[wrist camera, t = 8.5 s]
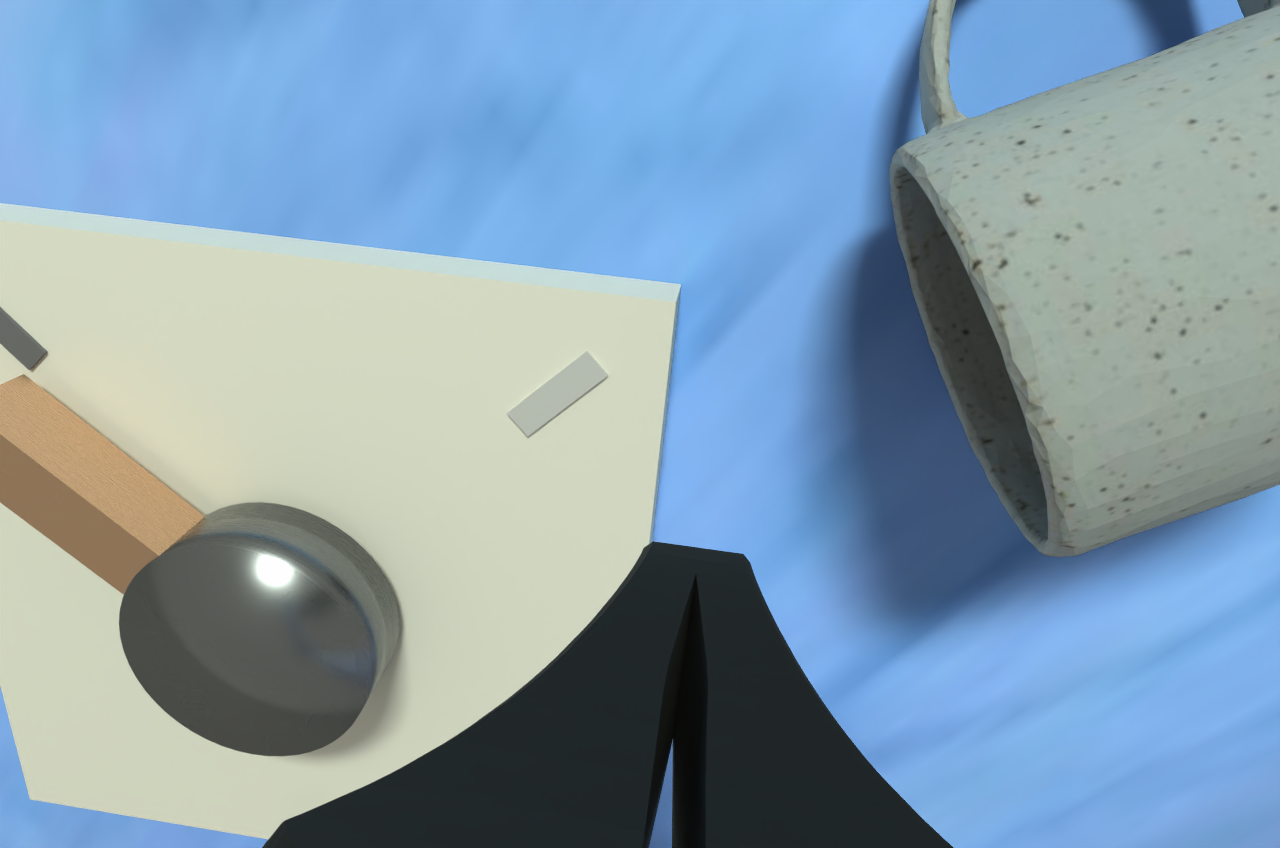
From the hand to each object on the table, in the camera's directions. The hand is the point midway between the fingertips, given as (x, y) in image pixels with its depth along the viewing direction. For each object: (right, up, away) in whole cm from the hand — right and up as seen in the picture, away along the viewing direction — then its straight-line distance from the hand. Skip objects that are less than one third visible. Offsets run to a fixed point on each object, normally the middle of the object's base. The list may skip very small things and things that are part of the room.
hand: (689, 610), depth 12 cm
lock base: (-9, -1, +12) cm, 15 cm away
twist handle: (-11, 0, +10) cm, 15 cm away
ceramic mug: (+8, +8, +6) cm, 13 cm away
